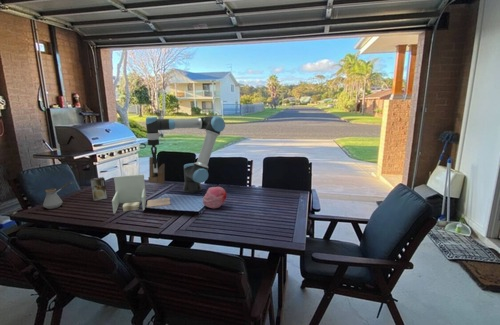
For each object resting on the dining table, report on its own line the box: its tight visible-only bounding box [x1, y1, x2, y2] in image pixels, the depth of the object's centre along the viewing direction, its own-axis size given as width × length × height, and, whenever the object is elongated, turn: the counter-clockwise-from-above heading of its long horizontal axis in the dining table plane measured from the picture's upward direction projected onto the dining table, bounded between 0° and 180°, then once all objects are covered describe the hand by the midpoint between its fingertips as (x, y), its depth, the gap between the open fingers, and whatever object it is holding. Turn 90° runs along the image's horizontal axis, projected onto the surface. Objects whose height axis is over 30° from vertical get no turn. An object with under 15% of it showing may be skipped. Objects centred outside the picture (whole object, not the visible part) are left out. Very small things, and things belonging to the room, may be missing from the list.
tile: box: [146, 197, 172, 208], centre depth 198 cm, size 16×14×1 cm
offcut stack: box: [122, 201, 141, 212], centre depth 188 cm, size 11×8×4 cm
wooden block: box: [147, 156, 166, 185], centre depth 194 cm, size 4×11×18 cm, turn 81°
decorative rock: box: [202, 186, 228, 210], centre depth 187 cm, size 19×14×15 cm
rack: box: [111, 173, 147, 215], centre depth 191 cm, size 20×22×20 cm
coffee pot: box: [42, 181, 73, 210], centre depth 196 cm, size 21×12×15 cm, turn 159°
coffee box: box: [90, 176, 108, 202], centre depth 209 cm, size 9×6×16 cm
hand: (155, 171), depth 194 cm, fingers open, 5 cm apart
